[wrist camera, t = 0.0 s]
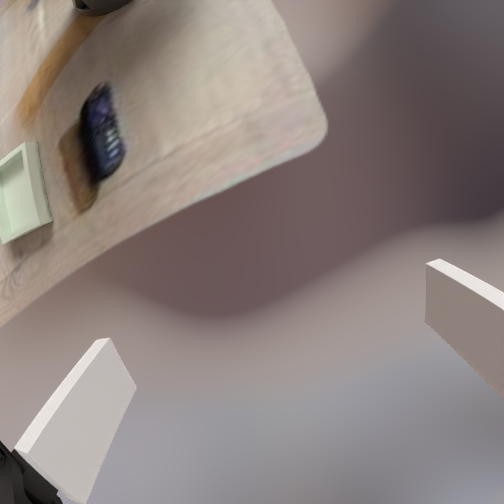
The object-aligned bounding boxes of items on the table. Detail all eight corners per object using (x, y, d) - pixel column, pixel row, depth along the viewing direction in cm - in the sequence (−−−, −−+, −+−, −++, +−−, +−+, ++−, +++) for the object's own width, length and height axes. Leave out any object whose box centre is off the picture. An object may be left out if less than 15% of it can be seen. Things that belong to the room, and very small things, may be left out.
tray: (0, 170, 34) (-12, 171, 30) (37, 142, 33) (24, 141, 30) (14, 240, 37) (2, 244, 34) (53, 220, 36) (40, 224, 33)
